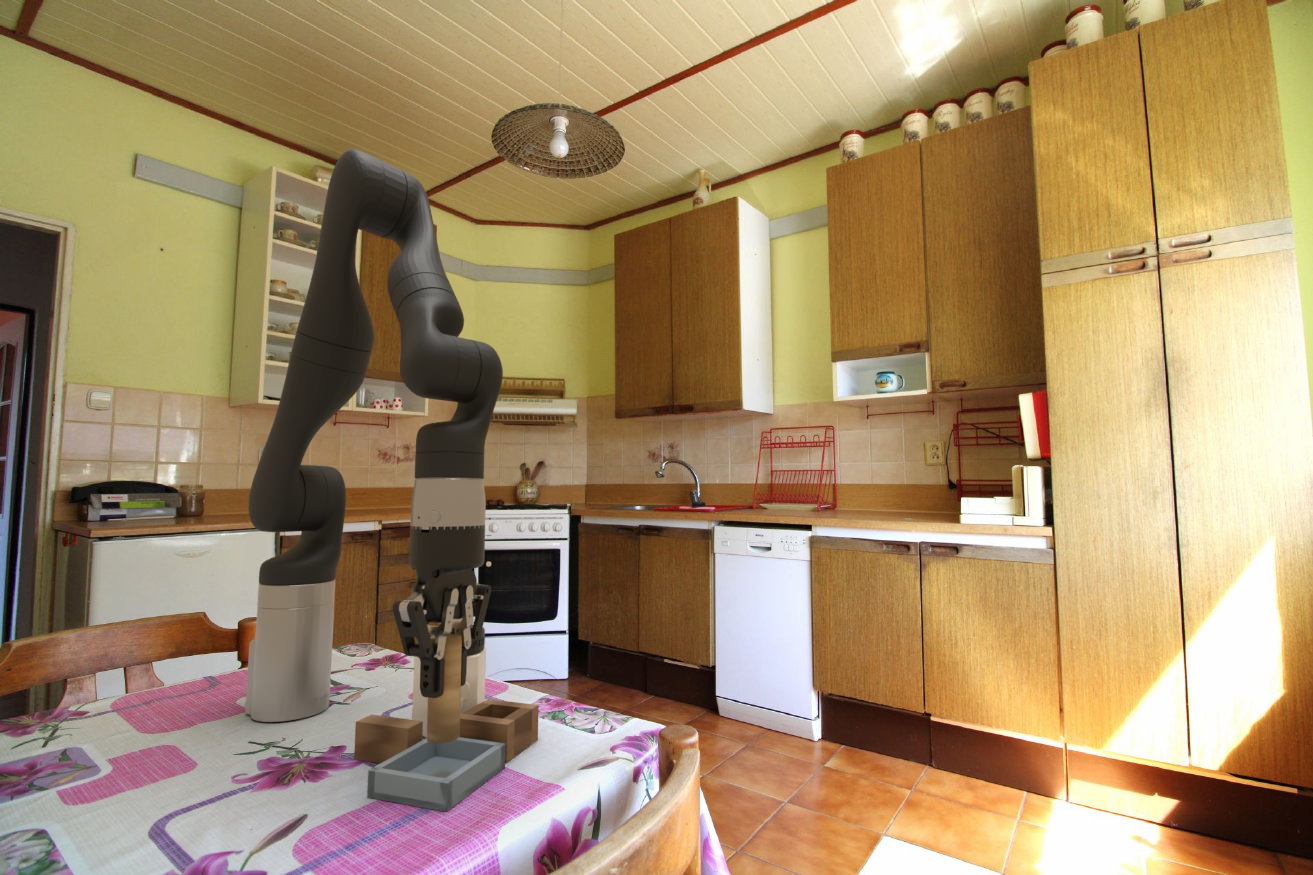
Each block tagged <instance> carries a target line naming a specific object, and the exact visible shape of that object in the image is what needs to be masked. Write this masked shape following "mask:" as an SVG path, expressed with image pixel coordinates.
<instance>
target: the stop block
mask: <svg viewBox="0 0 1313 875" xmlns="http://www.w3.org/2000/svg"><path fill="white" fill-rule="evenodd" d="M354 728H355V732H354V734H355V735H354V751H353V752H354V757H353V760H358V761H363V762H369V763H370V762H371V763H377V764H381V763H382V762H384V761H386V760H388V759H390V758H391V757H393V756H395V755H397V754H399V753H401V752H402V751H404V750H406V749H408V748H410V747H411V746H413V745H415V744H417V743H419V742H421V741H422V740H423V737H422V732H423V721H417V720H412V719H409V718H401V717H394V716H386V715H378V714H370V715H367V716H365V717H363V718H361V719H358V720H356V721H355V727H354Z"/></svg>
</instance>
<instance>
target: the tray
mask: <svg viewBox="0 0 1313 875" xmlns="http://www.w3.org/2000/svg"><path fill="white" fill-rule="evenodd" d="M505 768H506V763H505V743H498V742H490V741H483V740H476V739H469V738H461V737H459V738H458V739H456V740H454V741H451V742H447V743H430V742H428V741H427V738H424V739H422V741H421V742H419V743H417V744H415V745H413V746H411V747H410V748H408V749H406V750H404V751H402V752H401V753H399V754H397V755H395V756H393V757H391V758H390V759H388V760H386V761H384V762H382V763H378V764H377V765H375V766H374V767H371V768H370V769H368V771H367V787H366V788H367V792H366V793H367V794H366V798H369V799H373V800H378V801H384V802H390V803H396V804H402V805H406V806H413V807H418V808H424V809H428V810H434V811H439V812H446V813H447V812H448V811H449V810H451V809H452V808H454V807H455V806H456V805H458V804H459V803H460V802H462V801H463V800H464V799H466V798H467V797H468V796H469V795H471V794H472V793H474V791H476V790H478V789H479V788H481V786H483V785H484V784H485V783H487V782H488V781H489V780H491V779H492V778H493V777H495V776H496V775H497V774H499V773H500V772H501V771H503V770H505Z"/></svg>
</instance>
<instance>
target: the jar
mask: <svg viewBox="0 0 1313 875" xmlns="http://www.w3.org/2000/svg"><path fill="white" fill-rule="evenodd" d="M470 627H473V624H472V625H471V626H470ZM456 630H457V629H456V628H455V634H456ZM432 636H435V635H434V634H431V635H430V637H432ZM485 644H486V629H485V628H484V626H483V627H482V631H481V635H480V638H479V639H474V640H473V641H472V642H471V646H470V648H469V649H467V667H466V668H467V674H466V683H465V685H463V686H461V702H460V714H461V713H463V712H465V711H467V710H469V709H470V708H472V707H474V706H476V705H478V704H480V703H482V702H484V701H485V700H486V671H487V670H486V668H487V667H486V665H487V647H486V646H485ZM413 658H414V660H413V661H414V662H413V686H412V707H411V708H412V713H411V720H417V721H423V732H422V738H424V739H426V738H427V711H428V697H423V696H422V695H421V691H420V659H419V658H418V657H415V656H413Z"/></svg>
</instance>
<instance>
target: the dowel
mask: <svg viewBox="0 0 1313 875" xmlns="http://www.w3.org/2000/svg"><path fill="white" fill-rule="evenodd" d="M430 638H431V642H432V645H433V646H434V642H435V636H432V637H430ZM461 655H462V635H460V634H449V635H447V637H446V643H445V650H444V655H443V657H442V658H443V659H445V662H444V693H443V695H442V696H440V697H438V698H428V711H427V741H428V742H430V743H447V742H451V741H454V740H456V739H458V738H459V737H460V702H461Z"/></svg>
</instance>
